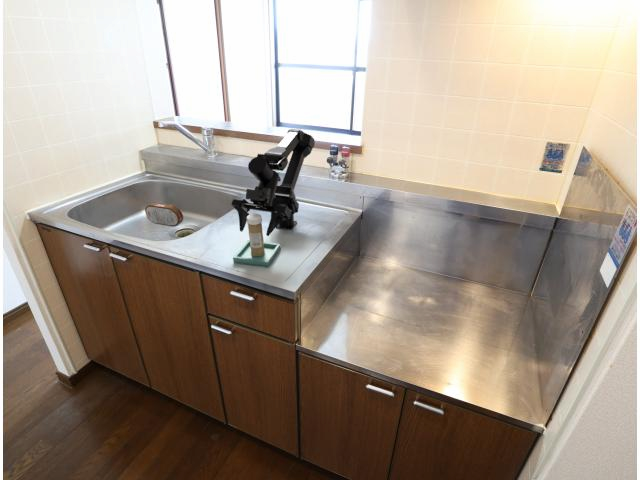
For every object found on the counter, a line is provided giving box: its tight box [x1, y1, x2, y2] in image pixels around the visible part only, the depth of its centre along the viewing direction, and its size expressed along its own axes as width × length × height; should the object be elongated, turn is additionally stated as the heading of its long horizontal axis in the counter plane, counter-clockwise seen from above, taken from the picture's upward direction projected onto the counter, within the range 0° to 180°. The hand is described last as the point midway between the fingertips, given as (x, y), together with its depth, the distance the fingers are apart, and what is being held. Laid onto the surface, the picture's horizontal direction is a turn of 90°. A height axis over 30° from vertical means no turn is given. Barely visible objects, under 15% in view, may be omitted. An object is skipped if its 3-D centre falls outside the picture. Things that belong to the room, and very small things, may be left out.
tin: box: [144, 201, 184, 227], centre depth 139 cm, size 15×3×8 cm, turn 73°
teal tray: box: [232, 239, 281, 268], centre depth 121 cm, size 12×12×2 cm
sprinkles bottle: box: [246, 213, 265, 257], centre depth 118 cm, size 5×5×14 cm
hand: (253, 233), depth 116 cm, fingers open, 9 cm apart
